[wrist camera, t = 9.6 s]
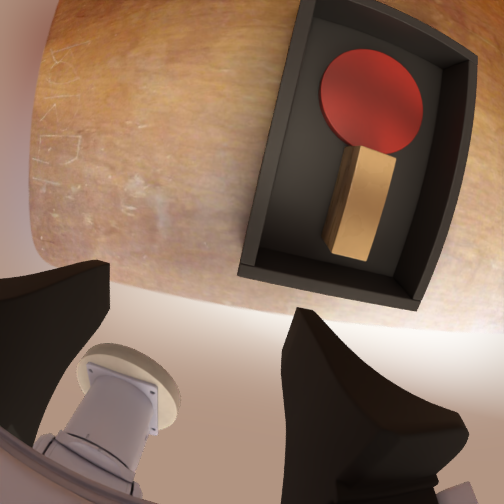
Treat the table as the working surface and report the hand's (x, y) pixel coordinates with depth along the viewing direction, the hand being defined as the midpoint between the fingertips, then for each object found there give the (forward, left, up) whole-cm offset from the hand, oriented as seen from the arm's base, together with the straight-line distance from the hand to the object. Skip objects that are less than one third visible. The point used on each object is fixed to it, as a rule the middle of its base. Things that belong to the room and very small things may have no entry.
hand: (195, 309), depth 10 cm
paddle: (+8, -7, -9) cm, 14 cm away
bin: (+8, -7, -9) cm, 14 cm away
